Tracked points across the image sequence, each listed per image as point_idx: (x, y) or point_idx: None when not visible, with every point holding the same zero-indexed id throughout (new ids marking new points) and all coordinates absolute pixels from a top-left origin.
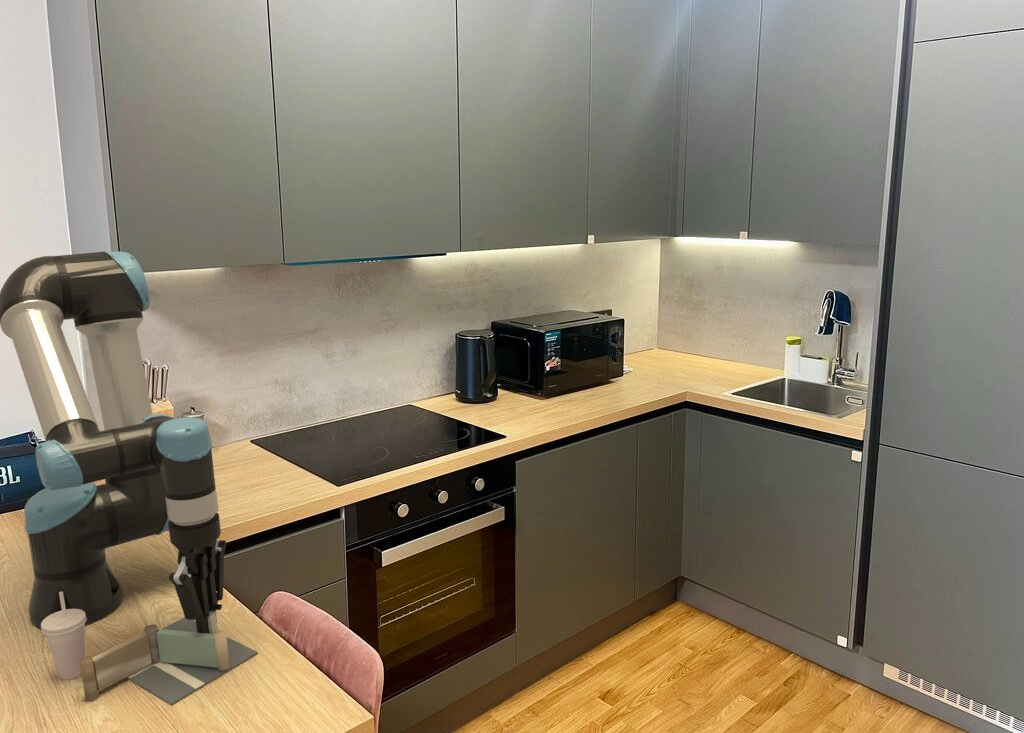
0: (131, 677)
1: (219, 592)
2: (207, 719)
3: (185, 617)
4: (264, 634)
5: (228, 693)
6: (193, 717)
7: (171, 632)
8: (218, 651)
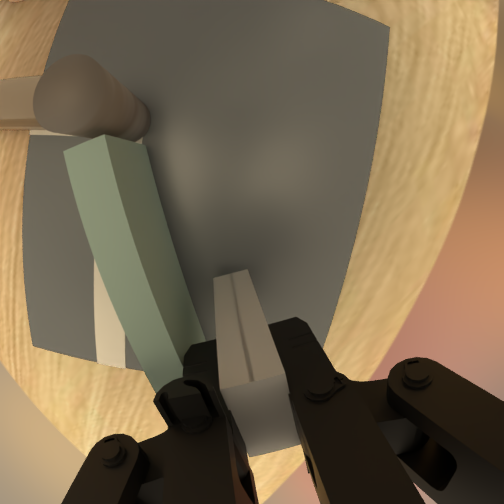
0: (35, 134)
1: (411, 476)
2: (68, 429)
3: (89, 456)
4: (392, 327)
5: (143, 422)
6: (51, 405)
7: (106, 231)
8: None
